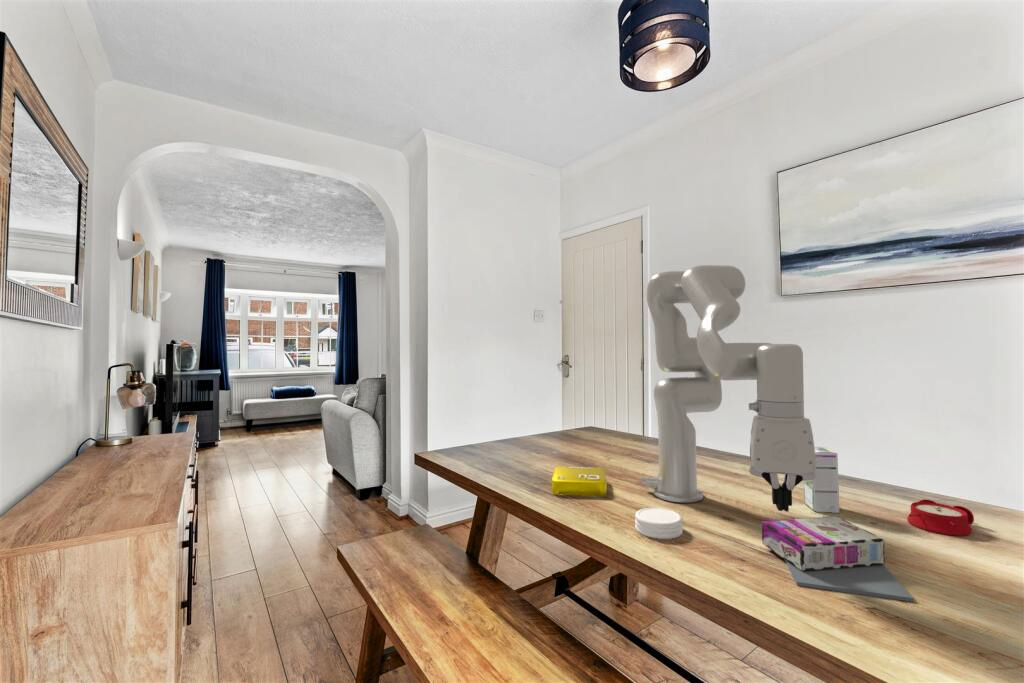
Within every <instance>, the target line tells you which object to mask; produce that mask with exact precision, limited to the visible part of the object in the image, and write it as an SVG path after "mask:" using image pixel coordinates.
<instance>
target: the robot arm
mask: <svg viewBox="0 0 1024 683" xmlns="http://www.w3.org/2000/svg"><path fill="white" fill-rule="evenodd" d="M745 289H746V278H745V276H744V274H743V272H742V271H741V270H740V269H738V268H737V266H734V265H733V266H732V265H711V264H710V265H706V264H705V265H704V264H703V265H696V266H693V267H690V268H689V269H687V270H686V271H683V270H682V271H681V270H680V271H677V270H676V271H675V270H673V271H663V272H658V273H656V274H654V275H653V276H652V277H650V279H649V281H648V283H647V288H646V302H647V303H646V304H647V306H648V309H649V313H650V315H651V318H652V322H653V329H654V343H655V353H656V362H657V365H658V368H659V369H660V370H661V371H662V372H666V373H694V377H693V376H692V377H691V376H690V377H687V376H684V377H682V376H681V377H679V376H678V377H667V378H664V379H661V380H660V381H658V382H657V383H656V384H655V386H654V387H653V388H654V389H653V397H654V398H653V399H654V403H655V409H656V416H657V433H658V474H657V476H654V477H649V476H642V478H641V479H642V480H641V482H642V483H641V484H643V485H646V487H654V488H653V490H652V491H653V494H654V495H655V497H657V498H659V499H660V500H661V499H662V500H665V501H667V502H672V503H673V502H674V503H688V504H689V503H696V502H699V501H701V500H703V498H704V493H703V491H702V490H701V489H700V488H698V486H697V485H698V484H697V483H698V482H697V473H698V472H697V470H698V469H697V433H696V427H695V425H694V424H693V423H692V421H691V420H690V418H689V417H688V415H687V414H691V413H692V414H694V413H709V412H710V413H711V412H714V411H716V410H718V409H719V408H720V406H721V403H722V400H723V396H722V395H723V391H722V381H756V401H755V402H749V403H748V410H749V411H753V412H755V413H756V415H754V416H753V419H752V424H751V431H750V442H749V443H750V445H749V459H750V465H749V469H748V472H749V474H750V475H752V476H754V477H758V478H762V479H764V480H765V481H766V482H767V483H768V484H769V485H770V486H771V501H772V504H773V505H775V507H776V508H777V510H778V511H779V512H783V511H784V512H790V509H789V508H790V507H792V506H793V490H794V489H795V487H796V486H797V485H799V484H801V483H802V482H804V481H806V480H813V479H815V478H816V476H815V470H816V460H815V449H814V447H815V442H814V434H813V428H812V424H811V420H810V419H809V418H807V417H805V399H804V398H805V395H804V394H805V392H804V391H805V390H804V387H805V386H804V385H805V384H804V352H803V349H802V347H801V346H799V345H797V344H794V343H770V342H727V343H726V342H725V341H724V340H723V339H722V337H721V335H720V334H719V333H718V332H720V331H722V330H724V329H726V328H728V327H729V326H731V325H732V324H733V323H735V321H736V320H737V319H738V318H739V316H740V313H741V306H740V303H739V302H738V301H737V299H739V298H741V296H742V295H743V294H744V292H745ZM675 304H691V306H692V307H693V309H694V311H695V313H696V314H697V316H698V317H699V319H700V320H701V321H700V323H699V326H698V328H697V332H696V337H691V336H690V335H688V325H687V321H686V320H687V319H686V318H685V316H684V314H683V313H682V311H681V310H680V309H679V308H678V307H677V306H676V305H675ZM689 336H690V337H689ZM778 475H784V477H783V482H782V484H780V482H779V476H778Z"/></svg>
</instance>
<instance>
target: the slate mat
mask: <svg viewBox="0 0 1024 683" xmlns="http://www.w3.org/2000/svg"><path fill="white" fill-rule="evenodd" d="M784 562H785V563H786V566H787V568H788V570H789V572H790V574H791V576H792V578H793V581H794V582H795V585H796V586H798V587H799V586H800V587H805V588H806V587H807V588H812V589H821V590H827V591H834V592H840V593H841V592H842V593H848V594H853V595H854V594H855V595H863V596H868V597H869V596H870V597H877V598H881V599H882V598H884V599H891V600H898V601H903V602H904V601H905V602H911V603H914V601H915V598H914V597H913V596H912V594H911V593H910V592H909V591H908V590H907V589H906V588H905V587H904V586H903V584H901V582H900V581H899V580H898V579H897V578H896V577H895V576H894V575H893V574H892V572H891V571H890V570H889V569H888V568H887V567H886V566H885V564H884V565H873V566H860V567H845V568H834V569H822V570H810V571H801V570H799V569H798V568H797V567H795V566H794V565H792V564H791V563H790V562H788V561H787V560H785V559H784Z"/></svg>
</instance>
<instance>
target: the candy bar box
mask: <svg viewBox="0 0 1024 683" xmlns="http://www.w3.org/2000/svg"><path fill="white" fill-rule="evenodd" d="M761 540H762V541H761V542H762V545H764V546H765V547H766V548H768V549H770V550H771V551H772V552H773V553H775V554H777V555H778V556H779V557H781V558H782V559H784V561H785V560H787V561H788V562H790V563H791V564H792V565H794V566H795V567H797V568H798V569H799V570H801V571H810V570H822V569H834V568H845V567H860V566H873V565H884V566H885V563H886V562H885V561H886V556H885V538H882V537H881V536H879V535H876V534H874V533H872V532H870V531H868V530H866V529H863V528H861V527H859V526H858V525H856V524H853V523H851V522H849V521H847V520H844V519H843V518H842V517H841V518H840V517H839V516H836V515H834V516H825V517H824V516H823V517H808V518H807V517H806V518H805V517H804V518H793V519H778V520H777V519H776V520H762V521H761Z"/></svg>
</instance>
